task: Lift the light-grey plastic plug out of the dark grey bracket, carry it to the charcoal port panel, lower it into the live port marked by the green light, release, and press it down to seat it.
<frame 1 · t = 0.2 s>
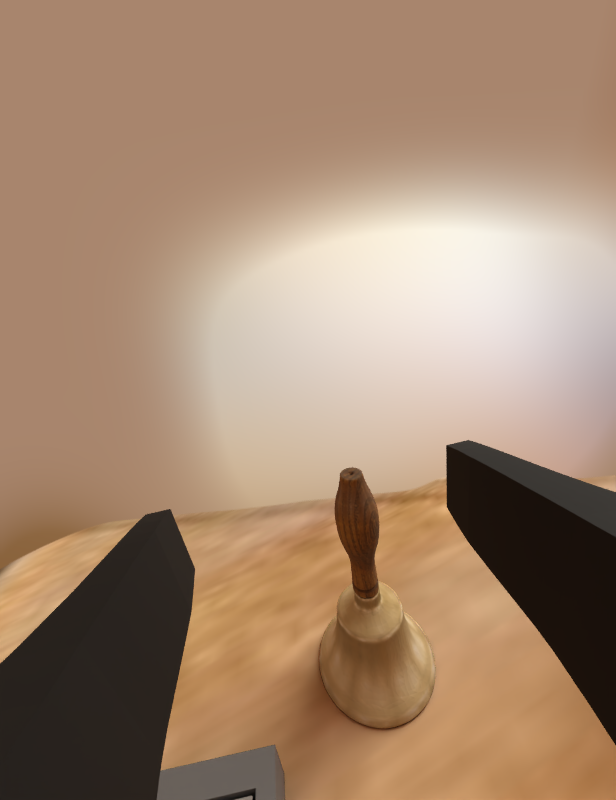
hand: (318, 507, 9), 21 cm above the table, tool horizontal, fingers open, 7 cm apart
hand bell: (375, 658, 25), on the table
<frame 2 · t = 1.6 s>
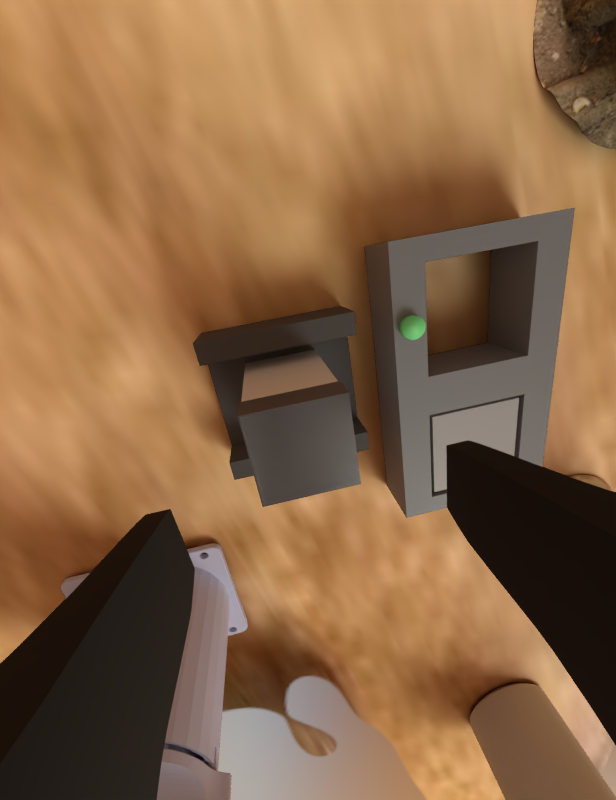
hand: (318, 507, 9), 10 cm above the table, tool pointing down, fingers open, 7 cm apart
port panel: (445, 368, 19), on the table
dark grey bracket: (285, 385, 18), on the table
travel mug: (503, 702, 34), on the table
plug: (286, 388, 17), point 1 cm above the table, touching dark grey bracket
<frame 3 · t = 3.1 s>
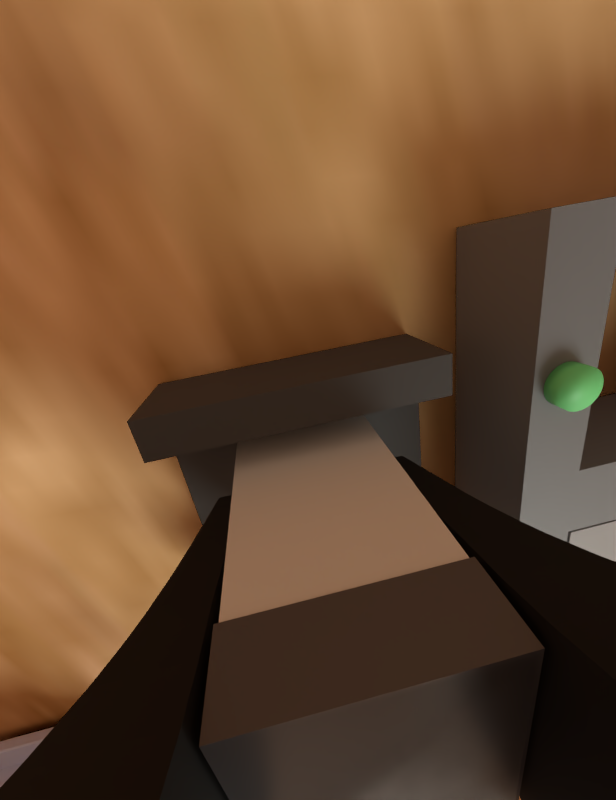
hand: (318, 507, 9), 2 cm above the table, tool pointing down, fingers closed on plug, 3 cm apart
port panel: (563, 430, 12), on the table
dark grey bracket: (307, 463, 11), on the table
plug: (309, 474, 10), point 1 cm above the table, touching gripper, dark grey bracket
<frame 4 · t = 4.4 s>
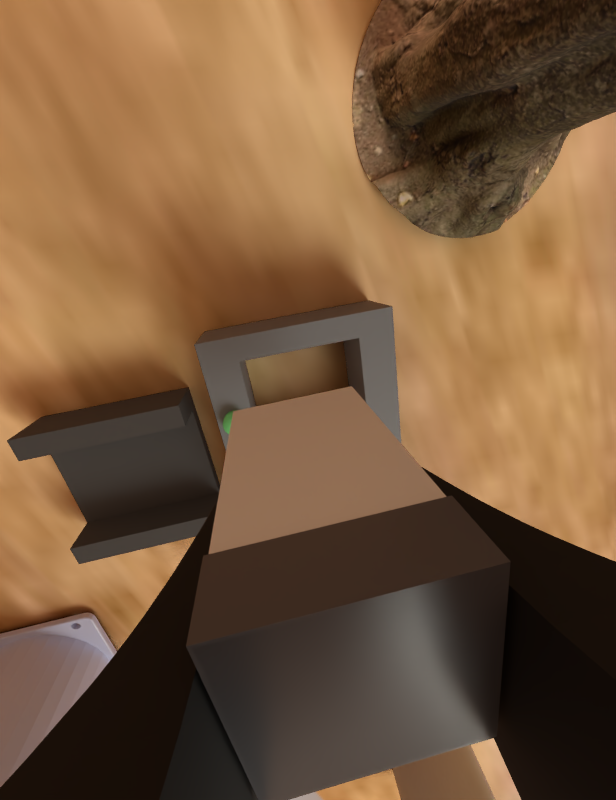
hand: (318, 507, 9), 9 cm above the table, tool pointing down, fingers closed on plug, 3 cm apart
port panel: (311, 441, 19), on the table
tree stump: (464, 110, 14), on the table
dark grey bracket: (141, 462, 17), on the table
travel mug: (427, 747, 33), on the table
plug: (303, 450, 10), point 7 cm above the table, touching gripper
when the fingers open (3 cm above the table, at t = 5.9 s): plug drops 1 cm, resting in port panel.
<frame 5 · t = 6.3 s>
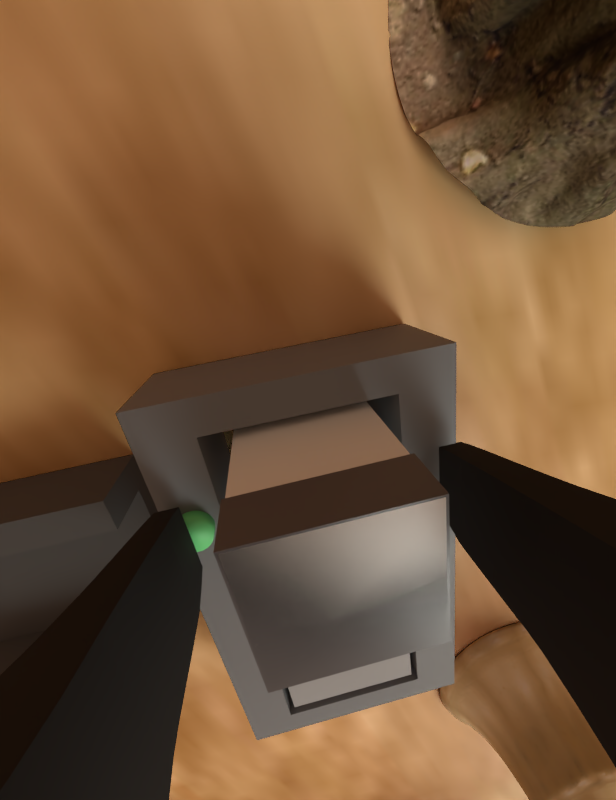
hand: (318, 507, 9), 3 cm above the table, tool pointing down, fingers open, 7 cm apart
port panel: (317, 520, 13), on the table
tree stump: (569, 16, 9), on the table
dark grey bracket: (71, 557, 12), on the table
hand bell: (504, 666, 19), on the table
plug: (300, 430, 12), resting in port panel
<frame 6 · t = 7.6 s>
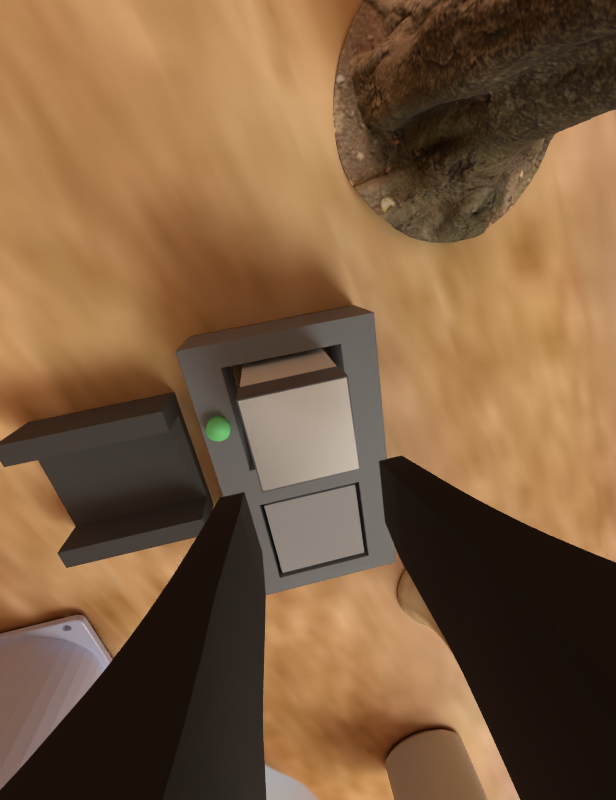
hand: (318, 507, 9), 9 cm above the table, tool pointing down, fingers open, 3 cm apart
port panel: (298, 445, 19), on the table
tree stump: (446, 115, 14), on the table
dark grey bracket: (129, 466, 18), on the table
hand bell: (448, 577, 25), on the table
travel mug: (421, 746, 33), on the table
plug: (286, 378, 17), resting in port panel
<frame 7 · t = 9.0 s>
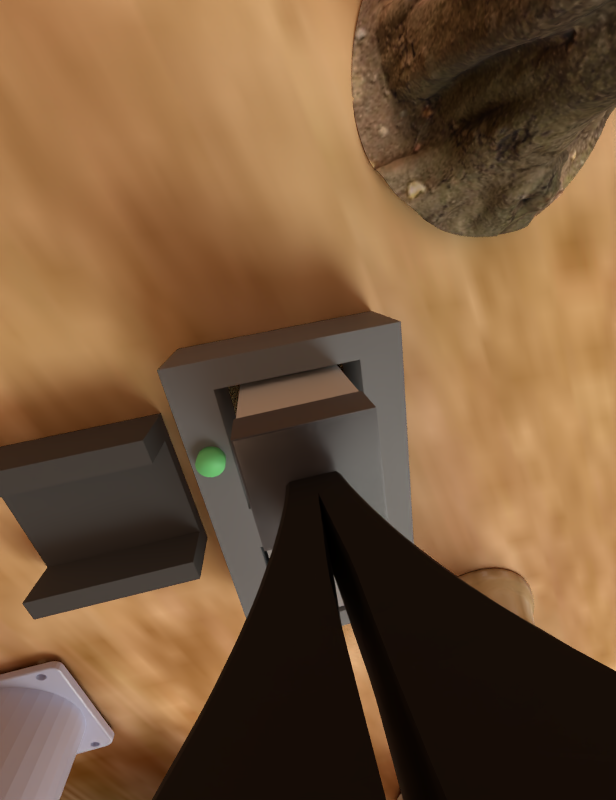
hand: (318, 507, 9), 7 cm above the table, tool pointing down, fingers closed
port panel: (305, 472, 16), on the table
tree stump: (487, 81, 12), on the table
dark grey bracket: (108, 498, 15), on the table
hand bell: (470, 611, 22), on the table
plug: (291, 396, 15), resting in port panel
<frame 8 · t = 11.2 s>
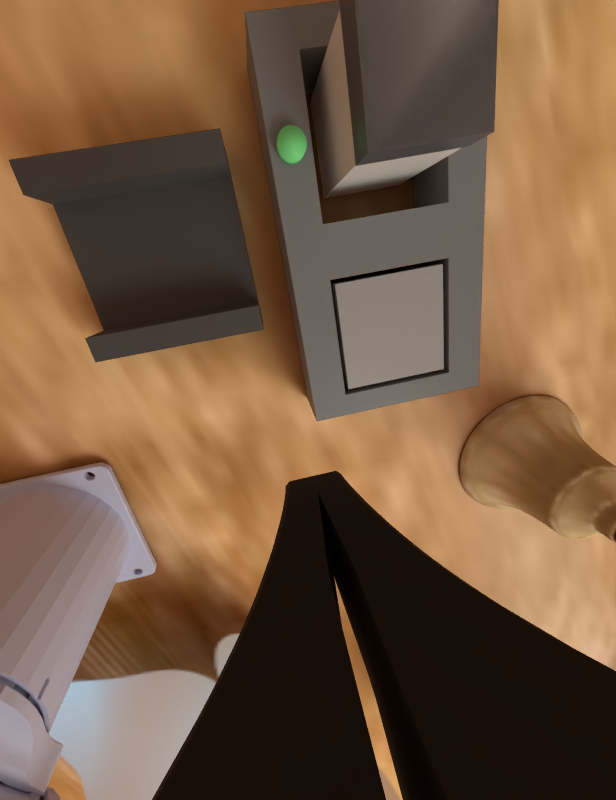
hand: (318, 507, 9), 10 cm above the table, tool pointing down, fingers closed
port panel: (365, 246, 16), on the table
dark grey bracket: (167, 257, 15), on the table
hand bell: (515, 452, 22), on the table
plug: (356, 145, 14), resting in port panel
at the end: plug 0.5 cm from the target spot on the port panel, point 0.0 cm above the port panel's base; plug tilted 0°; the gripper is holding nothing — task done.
